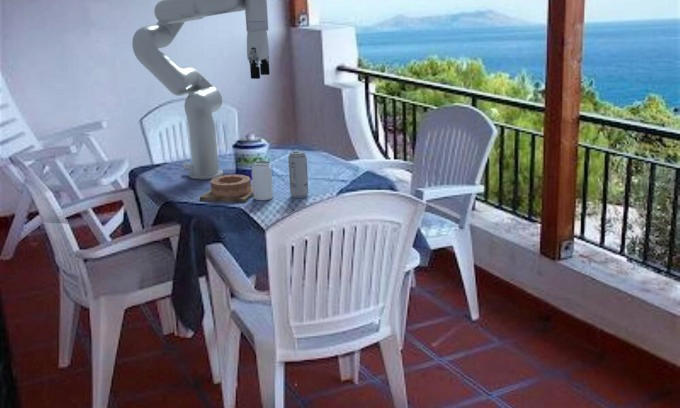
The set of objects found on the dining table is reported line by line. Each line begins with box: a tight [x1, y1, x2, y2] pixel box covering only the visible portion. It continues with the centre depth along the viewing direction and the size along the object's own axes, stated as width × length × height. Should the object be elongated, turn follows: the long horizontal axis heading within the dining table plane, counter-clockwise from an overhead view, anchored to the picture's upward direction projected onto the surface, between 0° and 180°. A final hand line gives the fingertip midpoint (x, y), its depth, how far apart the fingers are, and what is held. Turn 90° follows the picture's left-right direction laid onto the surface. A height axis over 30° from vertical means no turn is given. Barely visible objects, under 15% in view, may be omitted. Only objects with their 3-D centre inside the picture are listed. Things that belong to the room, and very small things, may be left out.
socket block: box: [199, 174, 254, 203], centre depth 247 cm, size 16×16×5 cm
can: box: [251, 160, 274, 202], centre depth 241 cm, size 6×6×12 cm
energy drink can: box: [287, 150, 309, 199], centre depth 242 cm, size 6×6×15 cm
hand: (260, 76), depth 256 cm, fingers open, 9 cm apart
